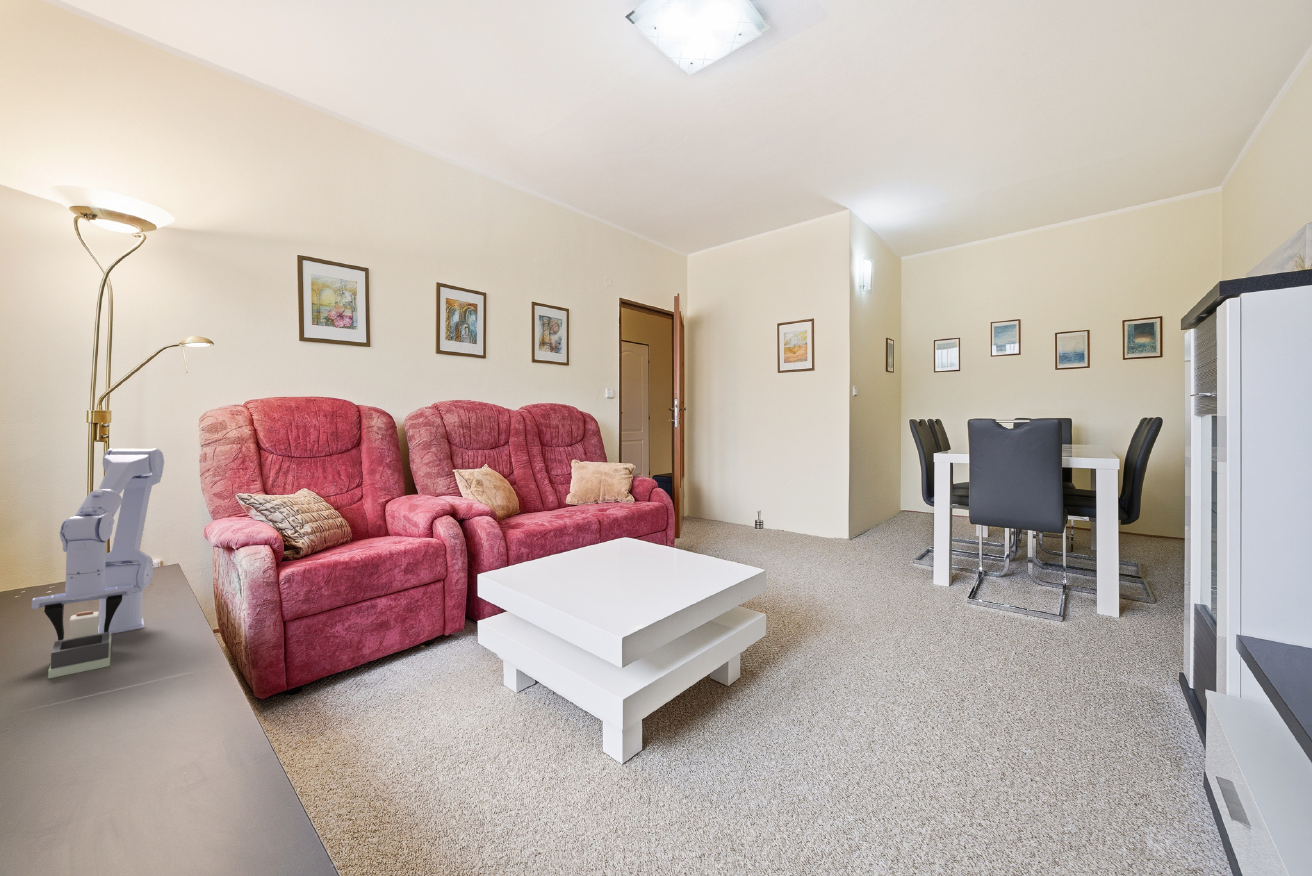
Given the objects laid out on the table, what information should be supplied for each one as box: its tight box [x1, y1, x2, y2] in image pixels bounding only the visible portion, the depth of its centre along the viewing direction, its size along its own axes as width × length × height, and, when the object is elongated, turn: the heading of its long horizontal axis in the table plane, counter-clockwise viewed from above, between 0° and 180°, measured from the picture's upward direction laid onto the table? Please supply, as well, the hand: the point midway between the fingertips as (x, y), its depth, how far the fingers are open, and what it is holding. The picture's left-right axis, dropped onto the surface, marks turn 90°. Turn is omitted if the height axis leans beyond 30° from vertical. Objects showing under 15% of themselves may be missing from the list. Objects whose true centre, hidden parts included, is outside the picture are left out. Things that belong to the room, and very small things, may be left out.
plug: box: [68, 610, 99, 639], centre depth 111 cm, size 5×4×6 cm
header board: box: [47, 632, 112, 680], centre depth 107 cm, size 20×8×4 cm, turn 46°
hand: (84, 635), depth 111 cm, fingers open, 6 cm apart
